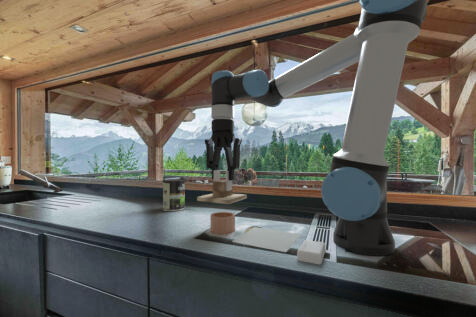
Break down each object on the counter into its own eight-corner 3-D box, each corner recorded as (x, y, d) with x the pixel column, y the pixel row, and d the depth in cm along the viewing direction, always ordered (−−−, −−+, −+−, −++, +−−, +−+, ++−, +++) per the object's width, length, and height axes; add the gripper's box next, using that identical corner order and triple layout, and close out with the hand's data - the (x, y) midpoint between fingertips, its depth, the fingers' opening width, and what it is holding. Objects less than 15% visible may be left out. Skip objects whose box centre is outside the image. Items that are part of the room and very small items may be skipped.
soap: (321, 267, 52) (321, 254, 52) (296, 262, 55) (296, 250, 55) (325, 253, 60) (325, 241, 60) (304, 249, 63) (304, 238, 63)
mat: (301, 235, 73) (301, 234, 73) (286, 253, 59) (286, 252, 59) (254, 228, 81) (254, 227, 81) (231, 243, 67) (231, 241, 67)
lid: (246, 198, 80) (246, 180, 80) (228, 204, 69) (229, 183, 69) (217, 195, 86) (217, 178, 86) (197, 200, 75) (197, 181, 75)
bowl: (239, 229, 79) (239, 213, 79) (226, 236, 72) (226, 218, 72) (219, 226, 83) (219, 211, 83) (205, 232, 76) (205, 215, 76)
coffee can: (188, 207, 116) (188, 179, 116) (179, 212, 106) (179, 181, 106) (169, 206, 118) (169, 178, 118) (158, 210, 108) (158, 180, 108)
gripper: (250, 119, 77) (250, 190, 77) (208, 123, 85) (208, 187, 85) (240, 115, 70) (240, 193, 70) (195, 120, 78) (195, 189, 78)
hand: (222, 189), depth 78 cm, fingers closed on lid, 4 cm apart
